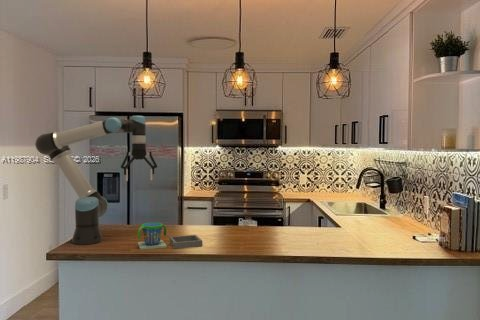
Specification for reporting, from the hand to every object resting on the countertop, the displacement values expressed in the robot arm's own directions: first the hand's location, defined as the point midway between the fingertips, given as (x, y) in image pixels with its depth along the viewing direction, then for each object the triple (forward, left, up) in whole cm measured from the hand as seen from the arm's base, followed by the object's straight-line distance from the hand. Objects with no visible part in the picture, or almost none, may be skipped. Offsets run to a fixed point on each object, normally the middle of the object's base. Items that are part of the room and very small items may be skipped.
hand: (139, 180), depth 234 cm
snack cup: (+4, -26, -31) cm, 41 cm away
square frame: (+21, -29, -32) cm, 48 cm away
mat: (+4, -26, -32) cm, 41 cm away
